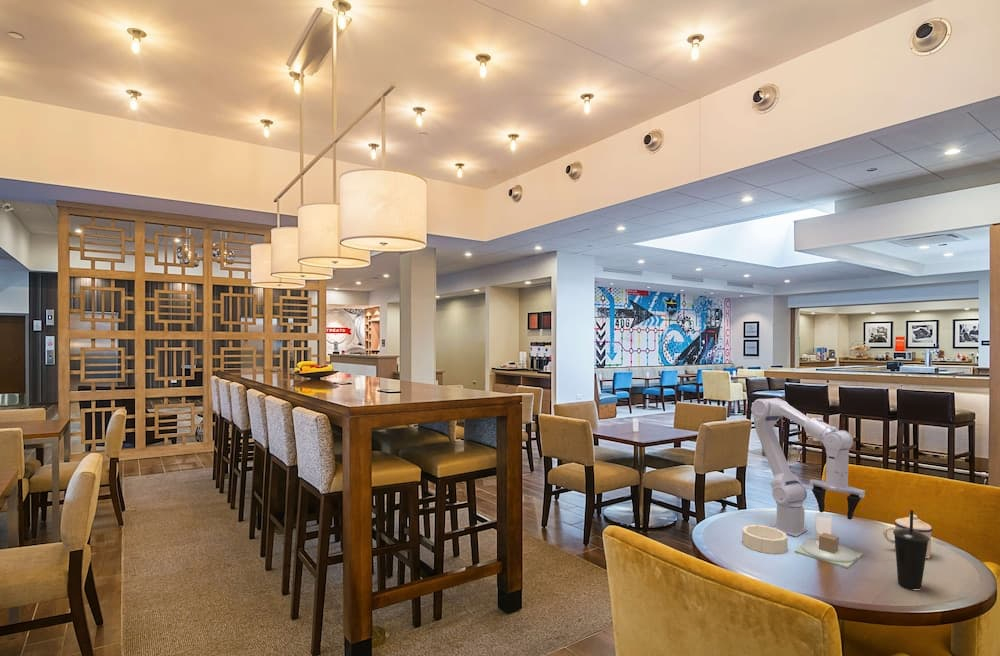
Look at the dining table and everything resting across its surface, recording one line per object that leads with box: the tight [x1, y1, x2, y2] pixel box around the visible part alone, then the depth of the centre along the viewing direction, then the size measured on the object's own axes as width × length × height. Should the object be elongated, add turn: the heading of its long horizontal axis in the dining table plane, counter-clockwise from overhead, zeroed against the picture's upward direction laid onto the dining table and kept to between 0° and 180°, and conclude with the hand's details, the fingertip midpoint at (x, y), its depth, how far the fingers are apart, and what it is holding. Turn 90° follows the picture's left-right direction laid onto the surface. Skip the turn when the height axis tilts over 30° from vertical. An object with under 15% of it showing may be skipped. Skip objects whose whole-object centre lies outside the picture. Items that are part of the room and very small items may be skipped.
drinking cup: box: [892, 509, 930, 590], centre depth 143 cm, size 8×8×20 cm
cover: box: [801, 532, 857, 563], centre depth 163 cm, size 14×14×5 cm
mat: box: [793, 538, 864, 570], centre depth 163 cm, size 14×14×1 cm
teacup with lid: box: [883, 514, 933, 557], centre depth 165 cm, size 12×9×12 cm
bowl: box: [741, 524, 789, 555], centre depth 168 cm, size 12×12×4 cm
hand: (835, 515), depth 167 cm, fingers open, 7 cm apart
